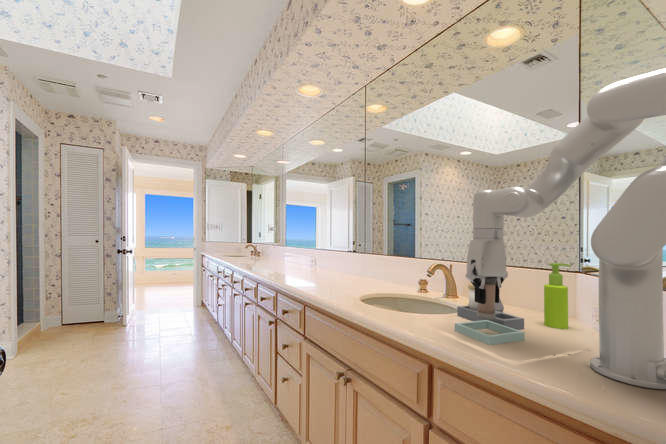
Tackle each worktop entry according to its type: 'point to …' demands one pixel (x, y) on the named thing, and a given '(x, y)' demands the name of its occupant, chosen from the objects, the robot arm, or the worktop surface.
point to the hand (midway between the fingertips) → (486, 301)
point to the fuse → (472, 298)
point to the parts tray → (505, 337)
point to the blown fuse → (488, 300)
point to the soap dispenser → (556, 299)
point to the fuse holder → (499, 318)
